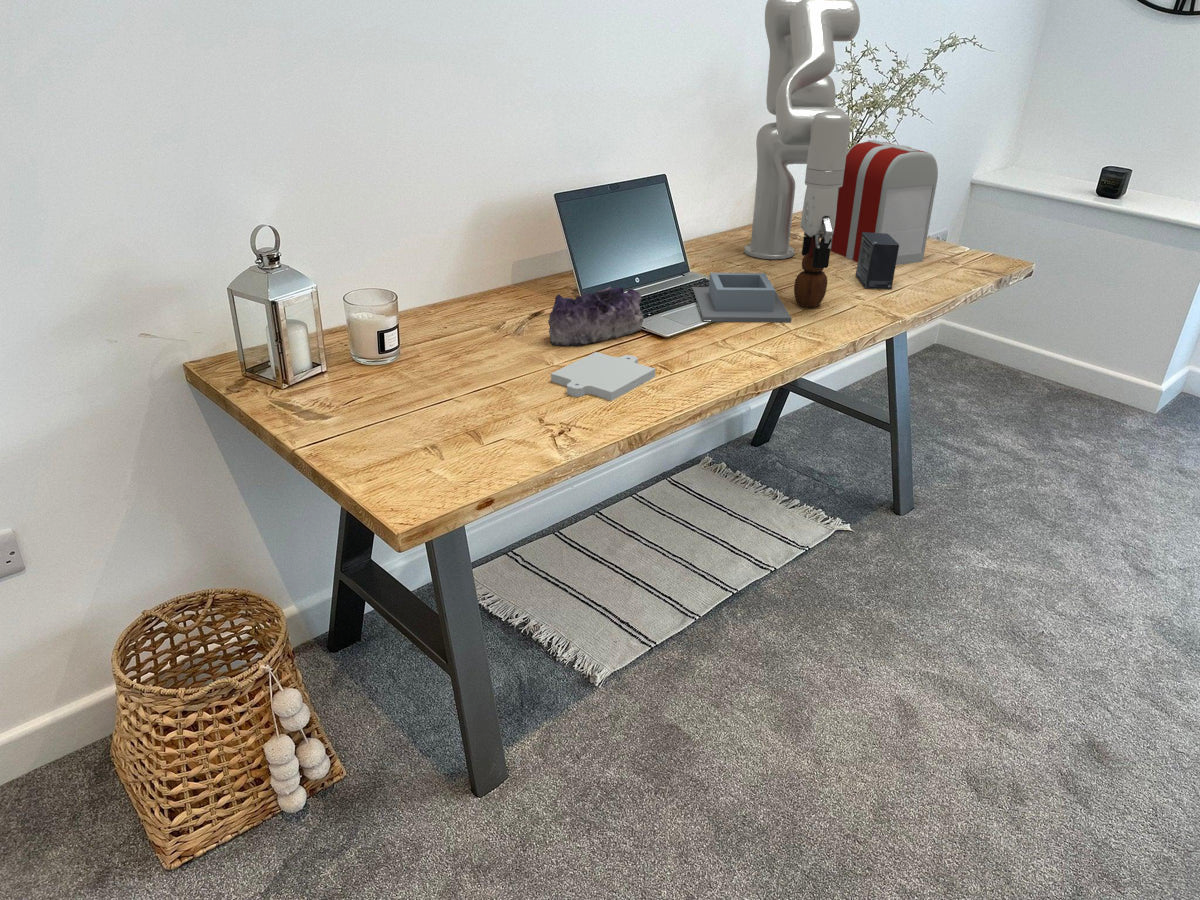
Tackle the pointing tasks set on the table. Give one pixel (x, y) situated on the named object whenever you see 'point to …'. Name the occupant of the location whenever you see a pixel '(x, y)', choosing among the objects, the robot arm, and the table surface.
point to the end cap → (740, 299)
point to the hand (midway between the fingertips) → (814, 261)
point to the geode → (595, 317)
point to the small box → (877, 260)
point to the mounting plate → (603, 375)
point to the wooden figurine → (810, 282)
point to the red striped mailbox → (885, 198)
